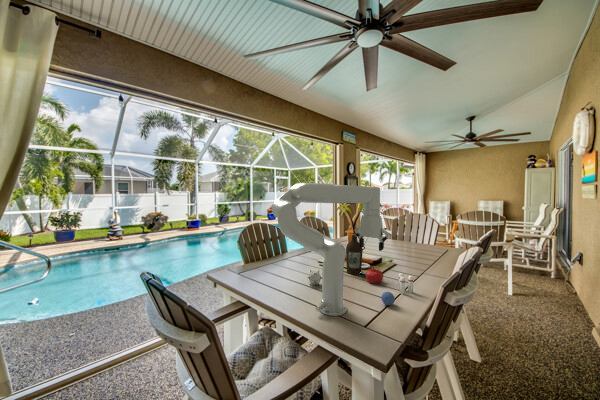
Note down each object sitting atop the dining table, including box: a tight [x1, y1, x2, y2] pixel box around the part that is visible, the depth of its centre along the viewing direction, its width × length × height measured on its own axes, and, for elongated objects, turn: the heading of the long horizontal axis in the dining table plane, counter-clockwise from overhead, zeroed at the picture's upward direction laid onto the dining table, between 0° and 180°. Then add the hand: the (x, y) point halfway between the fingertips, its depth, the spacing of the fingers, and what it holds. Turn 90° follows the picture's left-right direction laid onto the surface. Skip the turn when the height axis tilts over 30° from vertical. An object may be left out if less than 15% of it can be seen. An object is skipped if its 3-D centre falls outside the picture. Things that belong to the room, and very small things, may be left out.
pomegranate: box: [365, 265, 384, 284], centre depth 140 cm, size 10×10×9 cm
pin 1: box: [398, 272, 405, 291], centre depth 129 cm, size 2×2×8 cm
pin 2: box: [407, 275, 414, 294], centre depth 126 cm, size 2×2×8 cm
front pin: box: [399, 276, 406, 295], centre depth 124 cm, size 2×2×8 cm
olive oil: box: [345, 233, 363, 276], centre depth 155 cm, size 11×11×25 cm
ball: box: [380, 291, 396, 306], centre depth 112 cm, size 6×6×6 cm
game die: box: [307, 269, 322, 286], centre depth 136 cm, size 9×8×10 cm
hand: (371, 248), depth 113 cm, fingers open, 9 cm apart
